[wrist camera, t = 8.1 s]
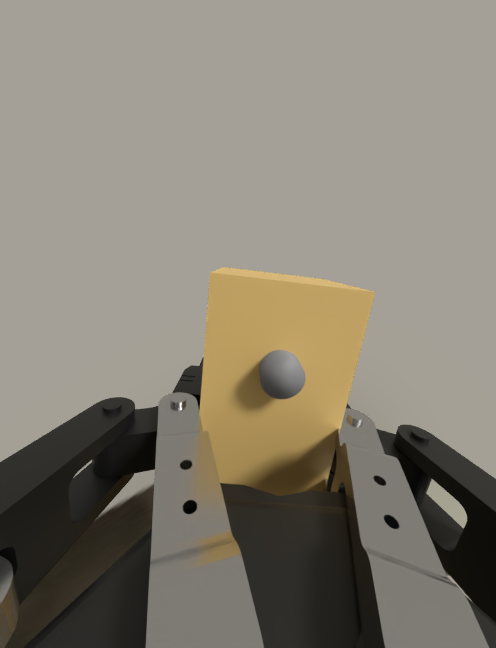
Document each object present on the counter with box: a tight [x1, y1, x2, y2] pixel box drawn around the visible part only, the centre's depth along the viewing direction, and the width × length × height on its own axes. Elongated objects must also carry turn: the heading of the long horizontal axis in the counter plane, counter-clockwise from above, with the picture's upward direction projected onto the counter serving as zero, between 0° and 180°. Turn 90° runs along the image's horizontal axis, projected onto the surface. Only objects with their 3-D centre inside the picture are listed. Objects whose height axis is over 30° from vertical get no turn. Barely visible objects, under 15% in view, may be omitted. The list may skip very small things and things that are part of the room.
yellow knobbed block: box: [199, 267, 375, 496], centre depth 10 cm, size 4×6×13 cm
